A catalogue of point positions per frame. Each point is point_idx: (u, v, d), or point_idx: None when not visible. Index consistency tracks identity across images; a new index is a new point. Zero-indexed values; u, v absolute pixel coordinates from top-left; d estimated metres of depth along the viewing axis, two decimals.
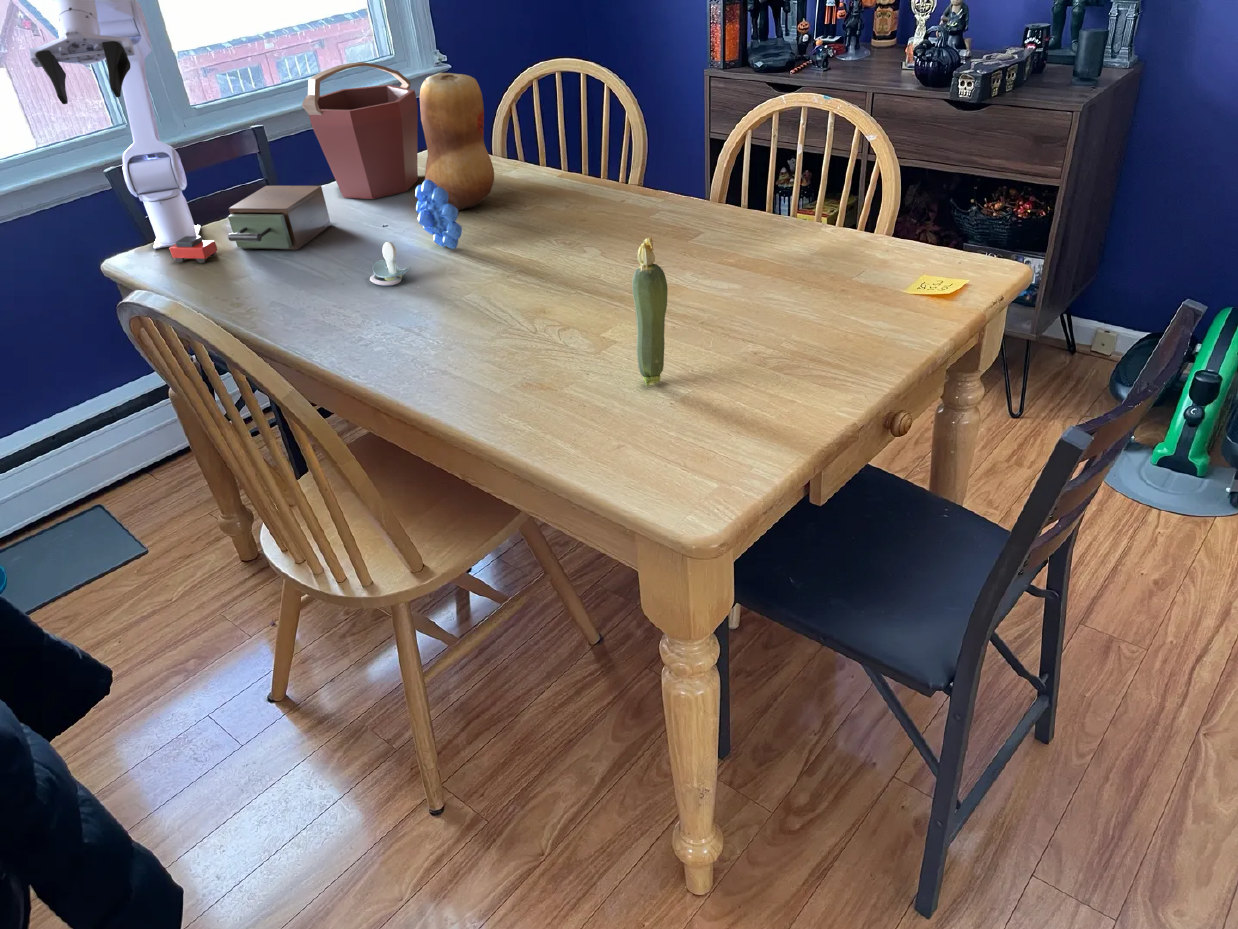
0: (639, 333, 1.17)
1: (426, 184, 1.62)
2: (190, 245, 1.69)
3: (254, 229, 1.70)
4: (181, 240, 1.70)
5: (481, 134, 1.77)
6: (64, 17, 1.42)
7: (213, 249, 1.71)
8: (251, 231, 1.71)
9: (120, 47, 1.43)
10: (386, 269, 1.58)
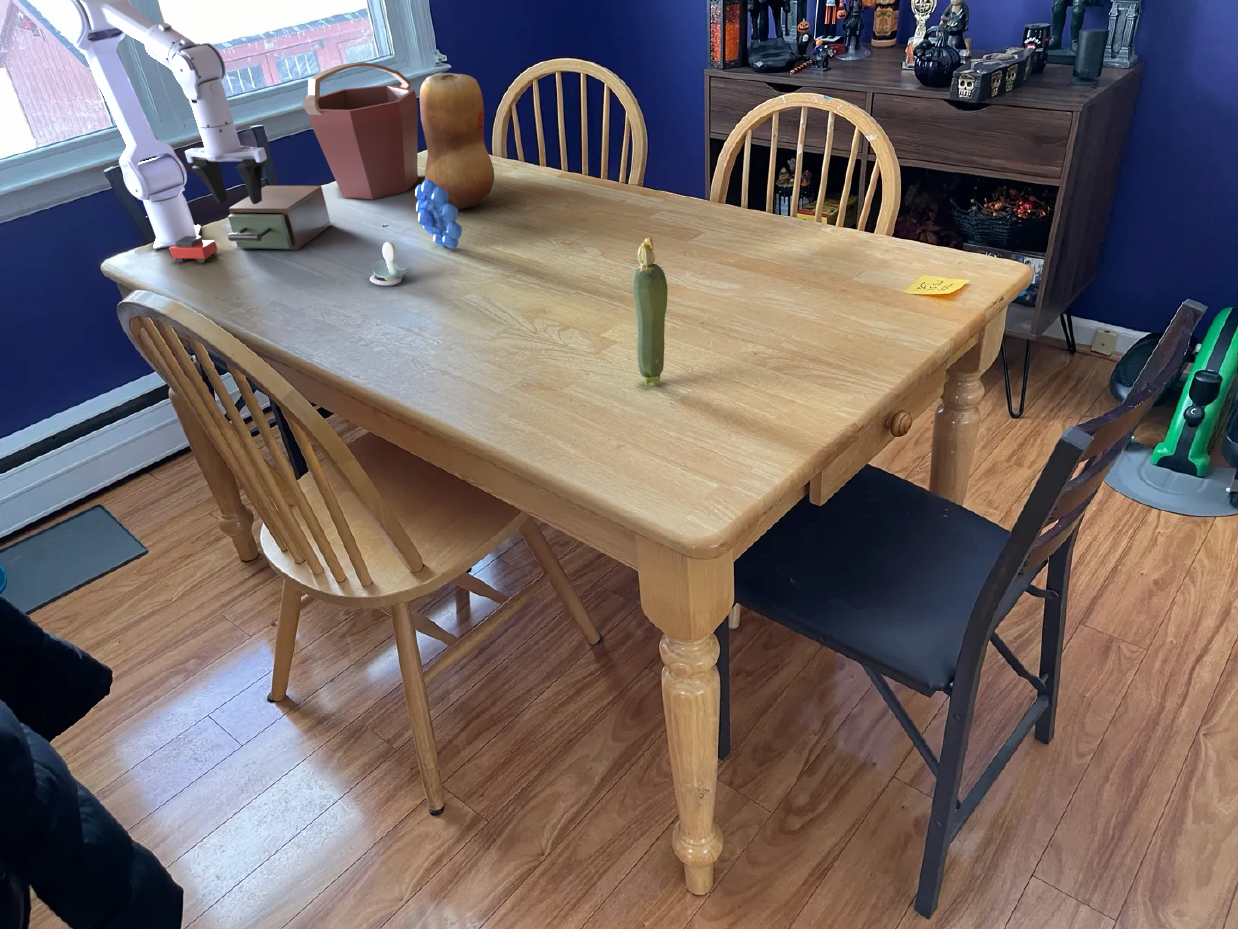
0: (639, 333, 1.17)
1: (426, 184, 1.62)
2: (190, 245, 1.69)
3: (254, 229, 1.70)
4: (181, 240, 1.70)
5: (481, 134, 1.77)
6: (203, 133, 1.56)
7: (213, 249, 1.71)
8: (251, 231, 1.71)
9: (251, 168, 1.58)
10: (386, 269, 1.58)
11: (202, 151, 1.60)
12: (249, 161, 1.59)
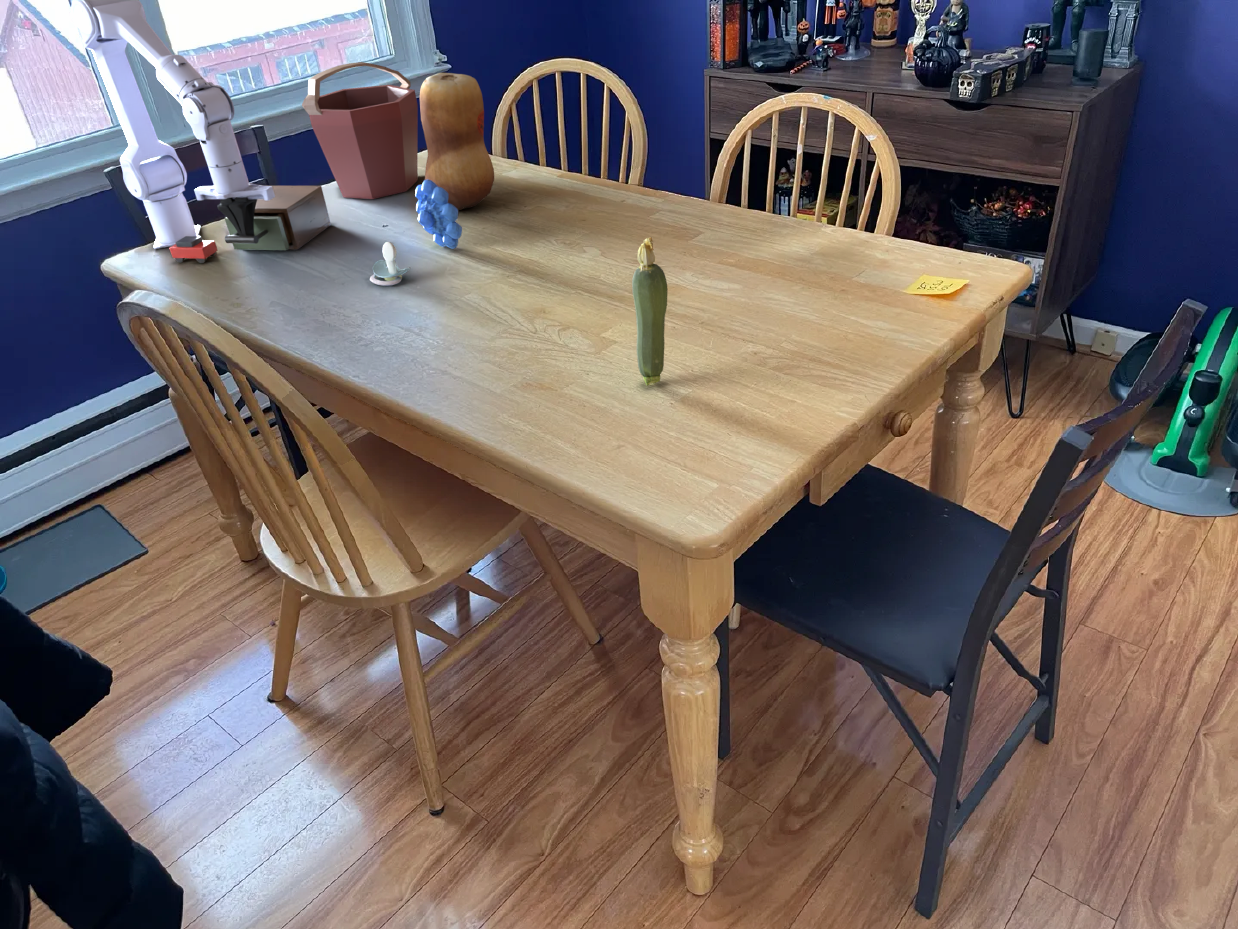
0: (639, 333, 1.17)
1: (426, 184, 1.62)
2: (190, 245, 1.69)
3: None
4: (181, 240, 1.70)
5: (481, 134, 1.77)
6: (212, 173, 1.59)
7: (213, 249, 1.71)
8: None
9: (244, 207, 1.62)
10: (386, 269, 1.58)
11: (211, 189, 1.63)
12: (241, 199, 1.62)
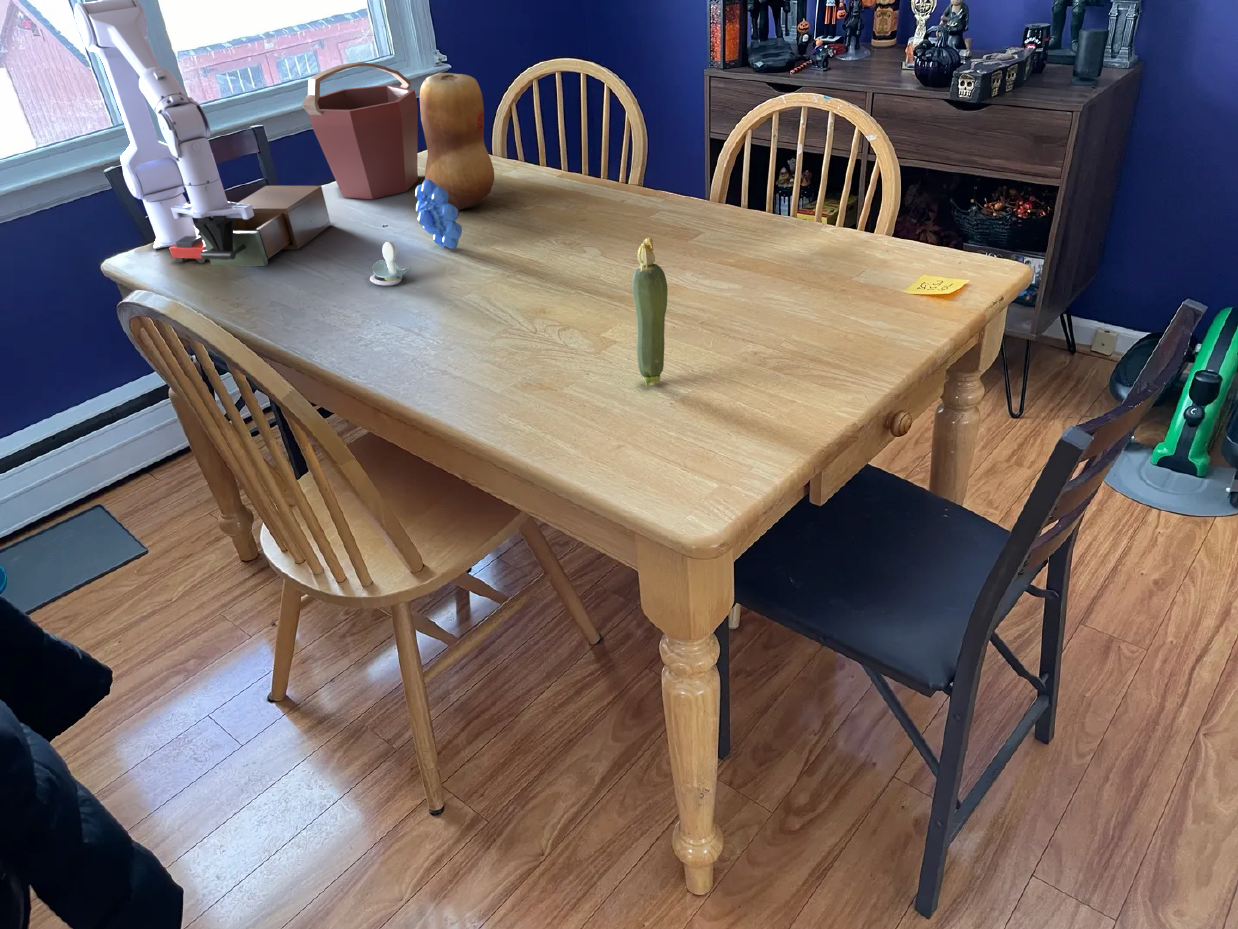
0: (639, 333, 1.17)
1: (426, 184, 1.62)
2: (190, 245, 1.69)
3: None
4: (181, 240, 1.70)
5: (481, 134, 1.77)
6: (189, 191, 1.53)
7: None
8: None
9: (222, 226, 1.57)
10: (386, 269, 1.58)
11: (188, 207, 1.58)
12: (219, 218, 1.57)
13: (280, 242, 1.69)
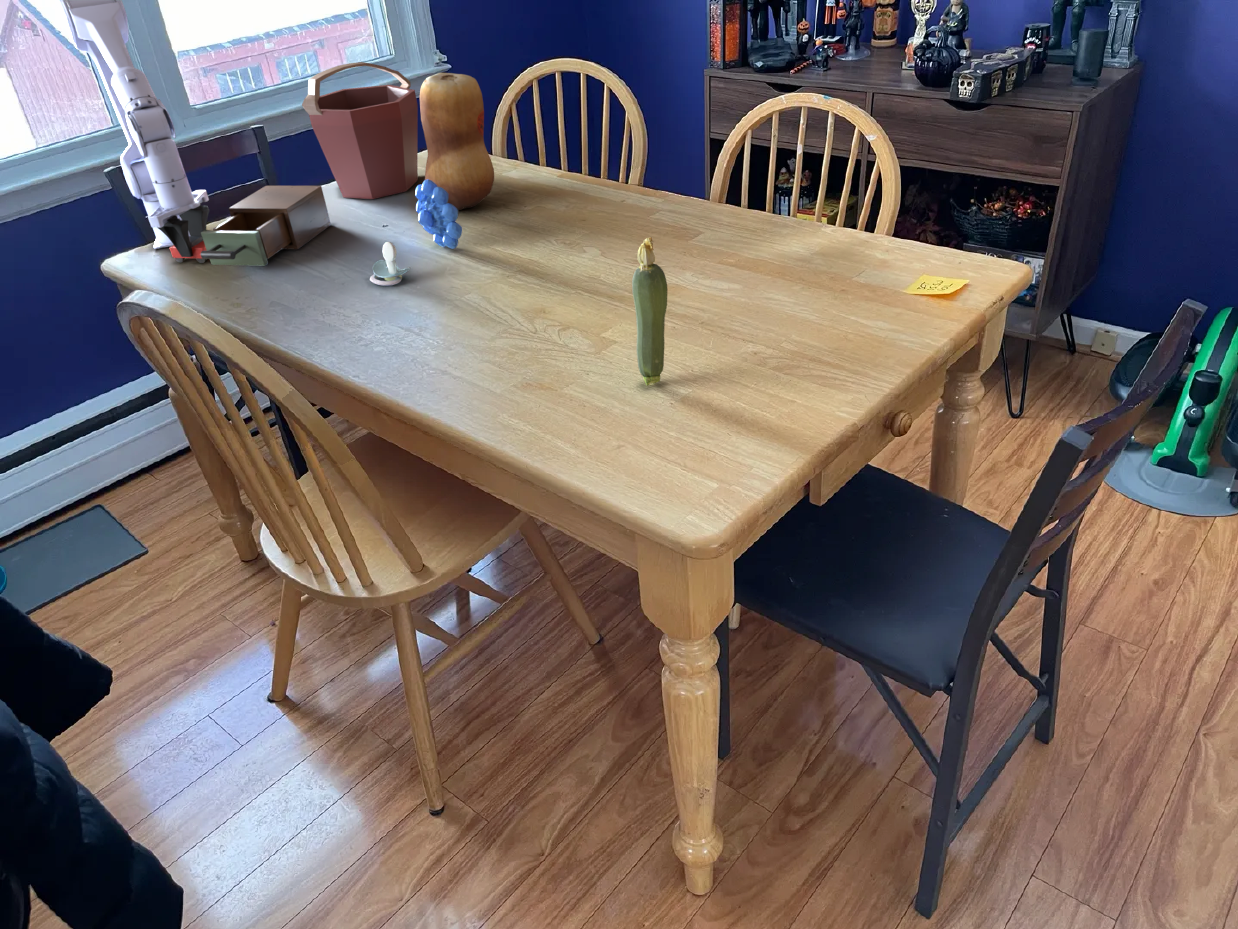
0: (639, 333, 1.17)
1: (426, 184, 1.62)
2: None
3: (228, 246, 1.63)
4: None
5: (481, 134, 1.77)
6: (180, 186, 1.63)
7: None
8: (225, 248, 1.64)
9: None
10: (386, 269, 1.58)
11: (164, 212, 1.63)
12: None
13: (280, 242, 1.69)
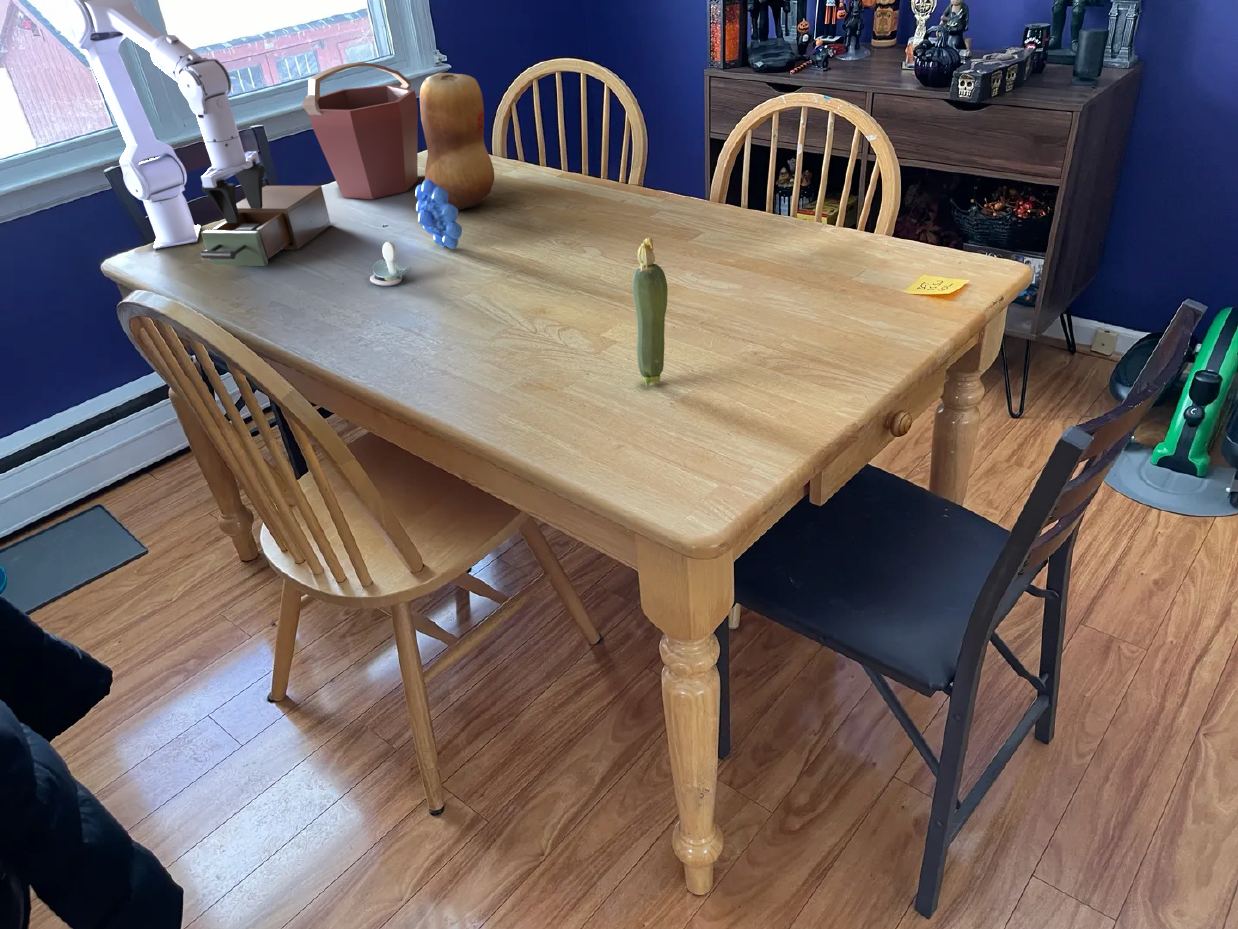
0: (639, 333, 1.17)
1: (426, 184, 1.62)
2: None
3: (228, 246, 1.64)
4: (240, 227, 1.67)
5: (481, 134, 1.77)
6: (233, 145, 1.58)
7: None
8: (225, 248, 1.64)
9: None
10: (386, 269, 1.58)
11: None
12: (253, 164, 1.66)
13: (280, 242, 1.69)
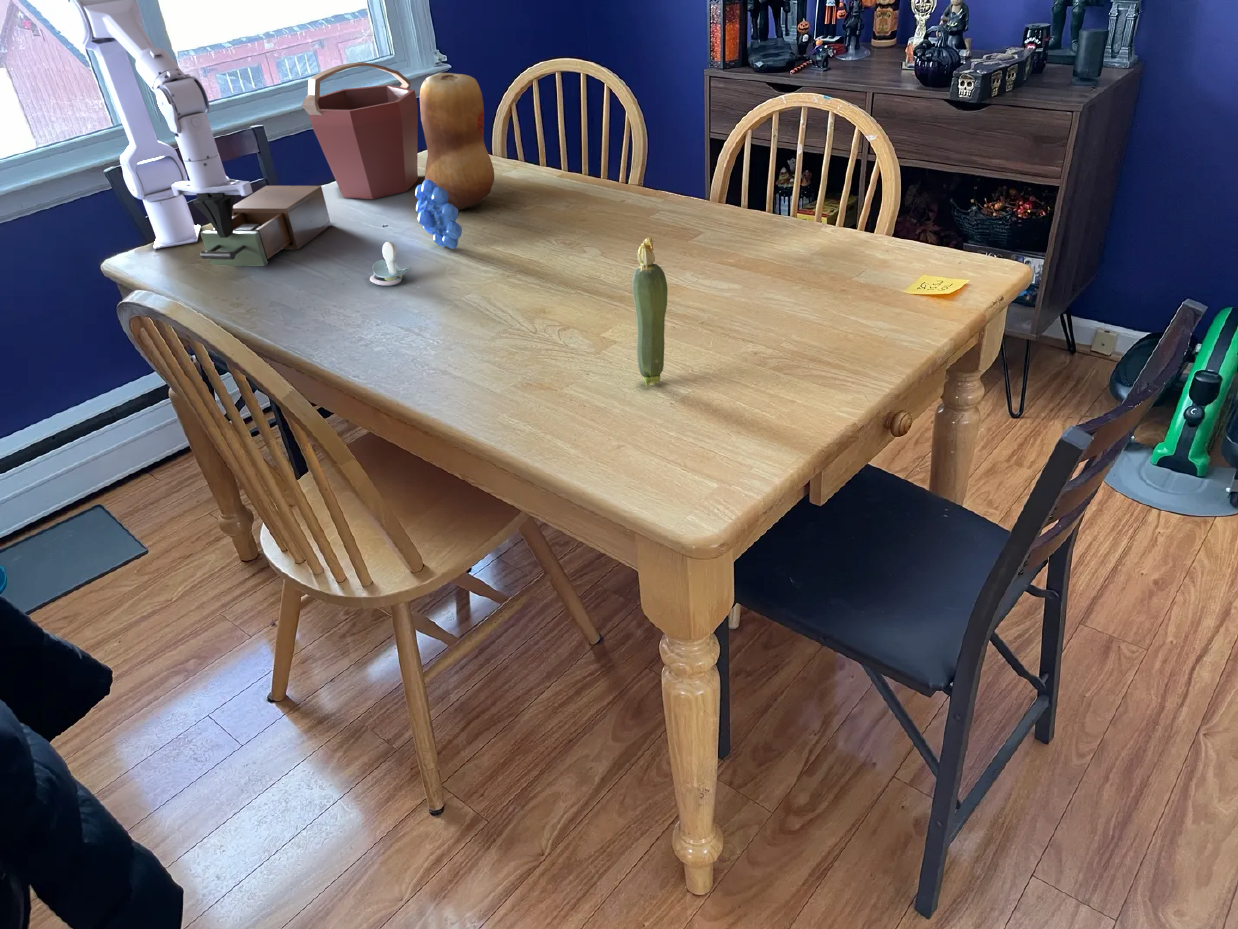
0: (639, 333, 1.17)
1: (426, 184, 1.62)
2: None
3: (227, 246, 1.63)
4: (239, 228, 1.67)
5: (481, 134, 1.77)
6: None
7: None
8: (225, 248, 1.64)
9: None
10: (386, 269, 1.58)
11: None
12: None
13: (280, 242, 1.69)
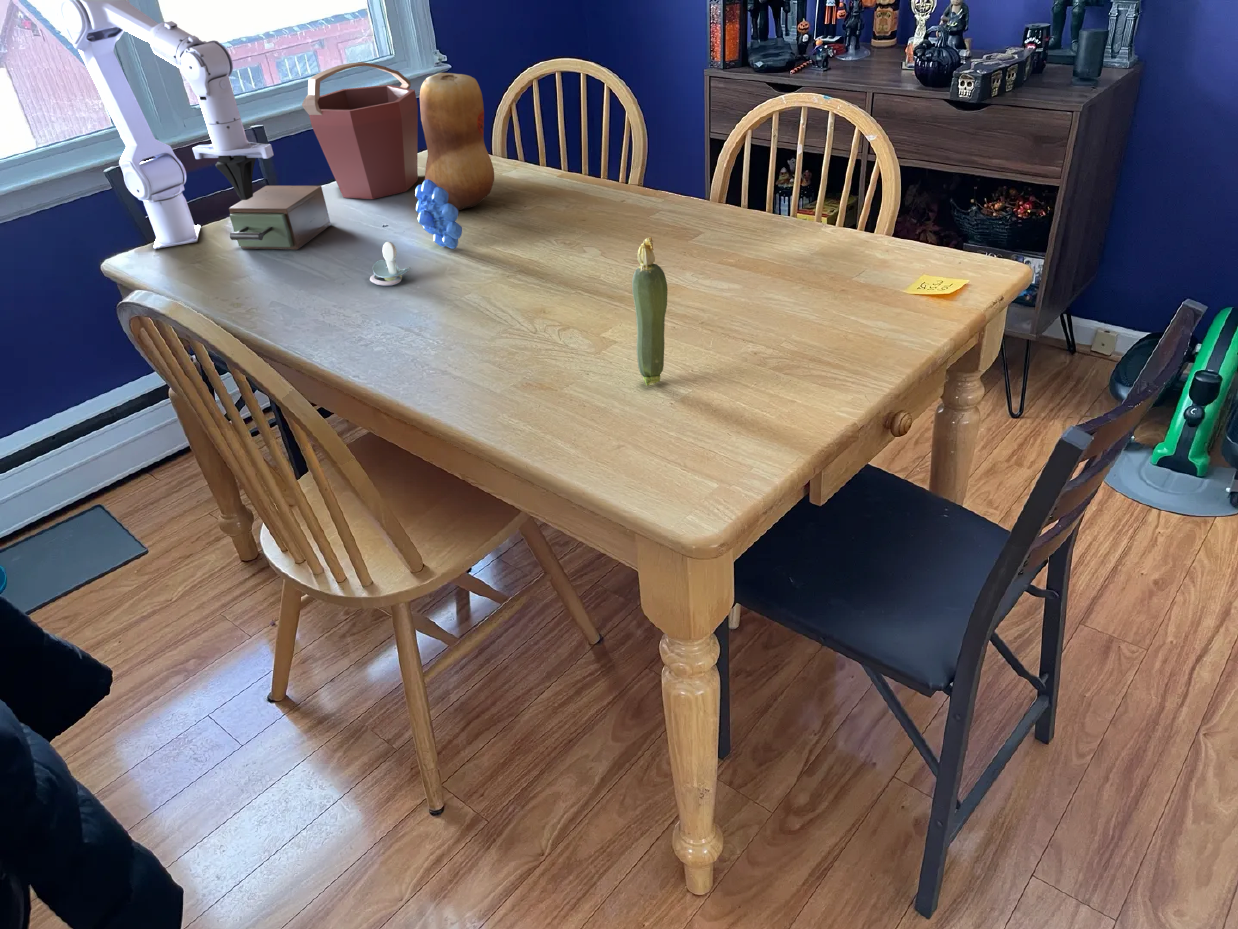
0: (639, 333, 1.17)
1: (426, 184, 1.62)
2: None
3: (255, 228, 1.71)
4: None
5: (481, 134, 1.77)
6: None
7: None
8: (252, 230, 1.71)
9: None
10: (386, 269, 1.58)
11: None
12: None
13: None
